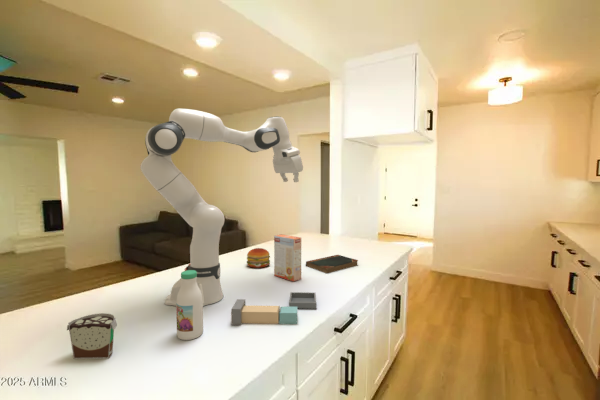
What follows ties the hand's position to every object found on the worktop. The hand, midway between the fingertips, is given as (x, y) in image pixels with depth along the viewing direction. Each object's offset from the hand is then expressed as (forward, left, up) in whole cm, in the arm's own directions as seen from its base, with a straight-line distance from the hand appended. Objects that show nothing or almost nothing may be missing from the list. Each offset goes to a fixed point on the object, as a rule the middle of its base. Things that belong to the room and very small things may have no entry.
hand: (291, 181), depth 136 cm
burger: (-20, +27, -48) cm, 59 cm away
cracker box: (-2, +7, -48) cm, 49 cm away
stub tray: (+6, -24, -48) cm, 54 cm away
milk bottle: (-29, -48, -48) cm, 74 cm away
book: (+22, +28, -49) cm, 60 cm away
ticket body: (-10, -38, -48) cm, 62 cm away
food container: (-51, -58, -48) cm, 91 cm away
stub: (+1, -38, -48) cm, 61 cm away
